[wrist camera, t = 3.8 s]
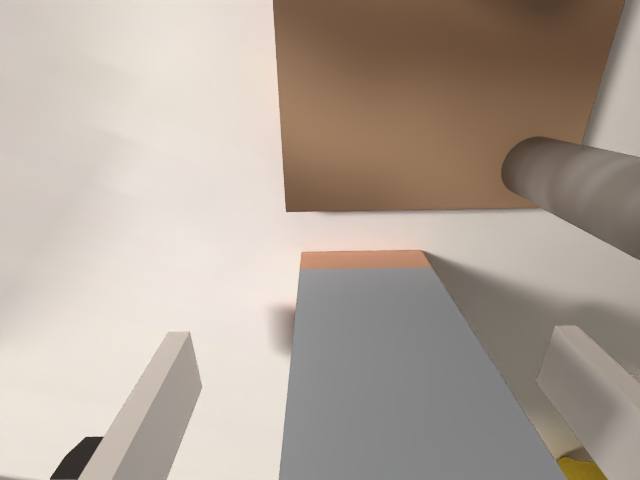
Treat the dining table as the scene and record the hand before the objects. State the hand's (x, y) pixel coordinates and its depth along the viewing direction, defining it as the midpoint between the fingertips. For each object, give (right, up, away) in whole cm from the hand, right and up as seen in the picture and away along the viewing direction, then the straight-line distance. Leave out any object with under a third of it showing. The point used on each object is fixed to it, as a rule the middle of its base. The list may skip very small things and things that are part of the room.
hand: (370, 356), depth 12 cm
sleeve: (0, +1, +3) cm, 4 cm away
